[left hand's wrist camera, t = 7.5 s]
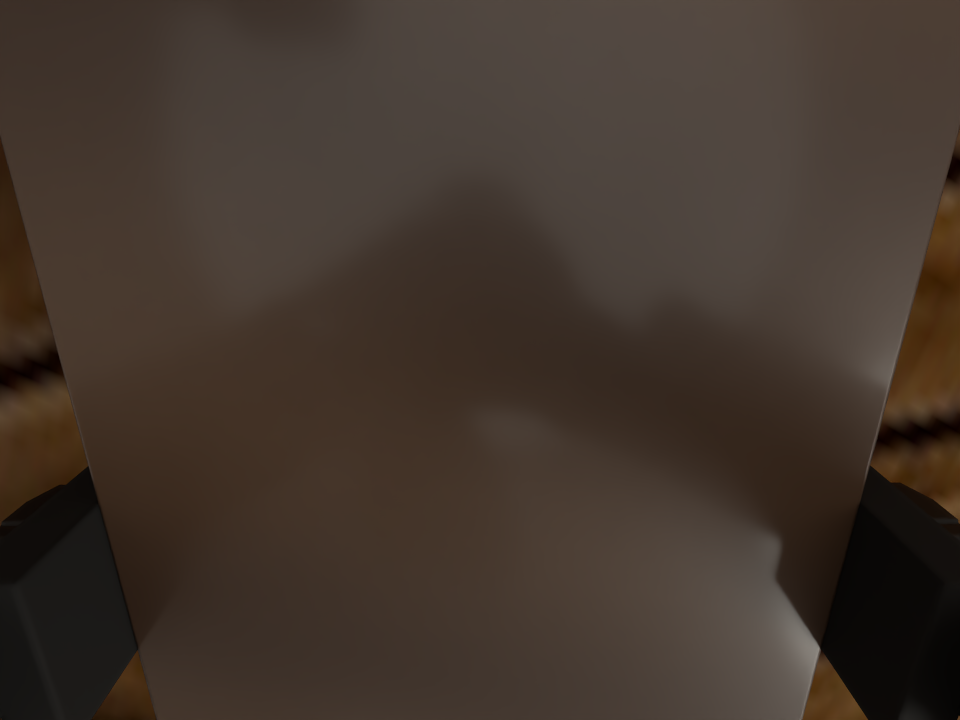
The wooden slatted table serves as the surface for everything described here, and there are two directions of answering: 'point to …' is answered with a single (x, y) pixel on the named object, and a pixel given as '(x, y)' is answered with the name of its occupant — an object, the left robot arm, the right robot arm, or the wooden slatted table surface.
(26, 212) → the cabinet
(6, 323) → the wooden slatted table surface
